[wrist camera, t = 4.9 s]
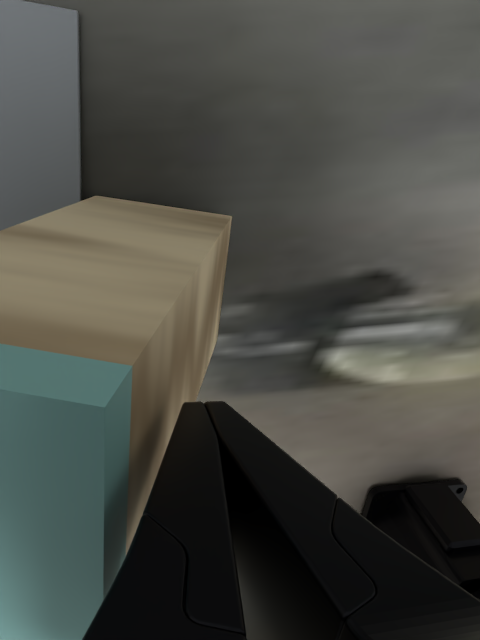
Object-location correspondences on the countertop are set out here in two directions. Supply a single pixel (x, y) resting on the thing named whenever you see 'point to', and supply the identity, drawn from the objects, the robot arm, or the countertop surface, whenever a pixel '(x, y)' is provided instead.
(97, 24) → the countertop surface
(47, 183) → the mat
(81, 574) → the block
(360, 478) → the countertop surface
